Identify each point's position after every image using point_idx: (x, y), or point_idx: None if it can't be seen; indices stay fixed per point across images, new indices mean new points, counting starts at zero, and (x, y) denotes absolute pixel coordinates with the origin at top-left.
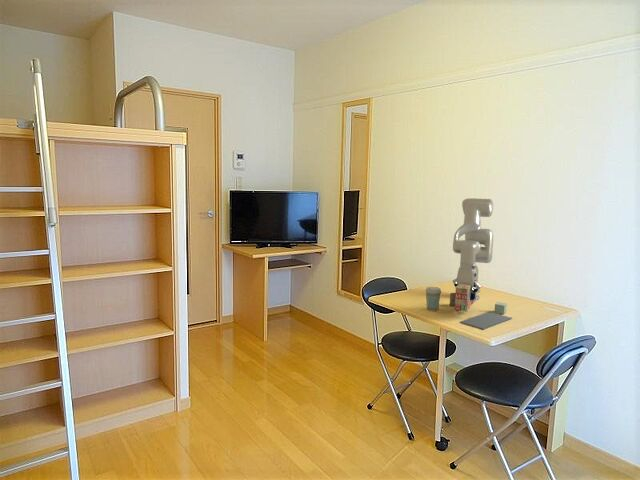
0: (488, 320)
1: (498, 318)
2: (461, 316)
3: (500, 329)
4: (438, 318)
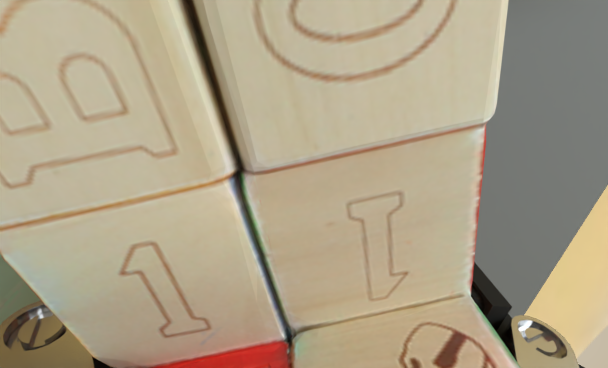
0: (512, 226)
1: (587, 126)
2: None
3: (581, 293)
4: None
